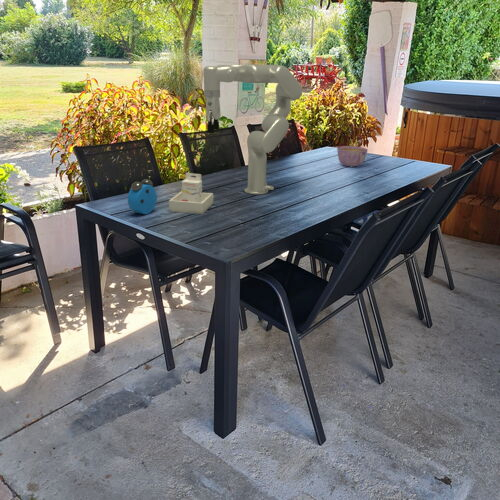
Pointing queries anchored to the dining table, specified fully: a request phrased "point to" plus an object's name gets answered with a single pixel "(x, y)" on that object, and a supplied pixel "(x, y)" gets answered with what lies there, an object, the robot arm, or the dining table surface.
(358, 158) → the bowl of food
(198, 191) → the ink cartridge box
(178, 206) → the cream square tray
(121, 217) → the dining table surface
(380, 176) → the dining table surface
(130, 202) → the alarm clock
